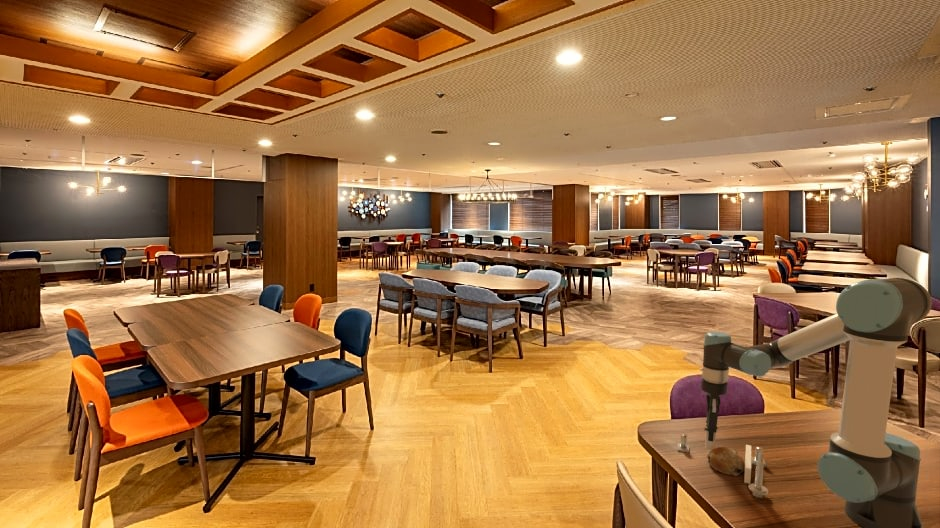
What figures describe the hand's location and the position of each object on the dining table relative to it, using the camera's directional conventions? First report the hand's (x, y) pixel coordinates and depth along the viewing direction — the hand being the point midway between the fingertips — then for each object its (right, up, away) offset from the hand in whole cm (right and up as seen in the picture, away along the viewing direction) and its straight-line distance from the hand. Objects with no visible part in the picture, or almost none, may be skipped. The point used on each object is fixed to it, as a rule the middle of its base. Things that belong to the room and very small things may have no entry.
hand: (709, 448), depth 154 cm
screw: (+3, -5, -21) cm, 22 cm away
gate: (+7, -3, -10) cm, 12 cm away
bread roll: (+2, -4, -6) cm, 7 cm away
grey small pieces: (+4, -3, +2) cm, 5 cm away
